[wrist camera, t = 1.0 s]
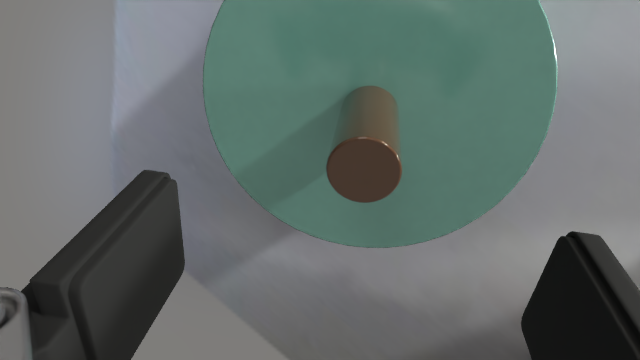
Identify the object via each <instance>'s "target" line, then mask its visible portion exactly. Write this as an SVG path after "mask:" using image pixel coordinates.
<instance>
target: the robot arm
mask: <svg viewBox="0 0 640 360" xmlns="http://www.w3.org/2000/svg"><path fill="white" fill-rule="evenodd" d="M184 265H185V259H184V249H183V239H182V229H181V219H180V209H179V200H178V190H177V183H176V181H175V180H173V179H171V177H170V175H169V174H168V173H164V172H157V171H150V170H144V171H142V172H141V173H140V174H139V175H138V176H137V177H136V178H135V179H134V180H133V181H132V182H130V183H129V184H128V185H127V186H126V187H125V188H124V189H123V190H122V191H121V192H120V193H119V194H118V195H117V196H116V197H115V198H114V199H113V200H112V201H111V202H110V203H109V204H108V205H107V206H106V207H105V208H104V209H103V210H102V211H101V212H100V213H98V214H97V215H96V216H95V217H94V219H92V220H91V221H90V222H89V223H88V224H87V225H86V226H85V227H84V228H83V229H82V230H81V231H80V232H79V233H78V234H77V235H76V236H75V237H74V238H73V239H72V240H71V241H70V242H69V243H68V244H66V245H65V246H64V248H62V249H61V250H60V251H59V252H58V253H57V254H56V255H55V256H54V257H53V258H52V259H51V260H50V261H49V262H48V263H47V264H46V265H45V266H44V267H43V268H42V269H41V270H40V271H39V272H38V273H37V274H36V275H34V276H33V277H32V278H31V279H30V283H29V284H28V285H27V286H26V287H25V288H24V289H23V290H22V291H21V292H20V291H19V290H16V289H12V288H8V287H6V288H3V287H0V360H131V358H132V357H133V355H134V353H135V352H136V350H137V348H138V346H139V345H140V343H141V342H142V340H143V338H144V337H145V335H146V333H147V332H148V330H149V328H150V327H151V325H152V323H153V322H154V320H155V319H156V317H157V315H158V313H159V312H160V310H161V309H162V307H163V305H164V304H165V302H166V300H167V299H168V297H169V295H170V293H171V292H172V290H173V289H174V287H175V285H176V283H177V282H178V280H179V279H180V277H181V275H182V273H183V270H184ZM521 326H522V332H523V335H524V337H525V340H526V343H527V346H528V349H529V352H530V355H531V358H532V360H640V291H639V290H638V288H637V287H636V285H635V284H634V282H633V281H632V280H631V278H630V277H629V275H628V274H627V273H626V271H625V270H624V268H623V267H622V266H621V264H620V263H619V261H618V260H617V259H616V257H615V256H614V254H613V253H612V251H611V250H610V249H609V247H608V246H607V244H606V243H605V242H604V240H603V239H602V238H601V237H600V236H598V235H594V234H587V233H580V232H569V233H568V234H567V235H566V237H565V236H562V237H560V238H559V239H558V241H557V243H556V245H555V247H554V249H553V251H552V253H551V255H550V258H549V260H548V262H547V264H546V266H545V268H544V270H543V273H542V275H541V277H540V279H539V281H538V283H537V286H536V288H535V290H534V292H533V294H532V296H531V298H530V301H529V303H528V305H527V307H526V309H525V311H524V313H523V316H522V321H521Z"/></svg>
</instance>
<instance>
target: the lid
mask: <svg viewBox="0 0 640 360" xmlns="http://www.w3.org/2000/svg"><path fill="white" fill-rule="evenodd" d="M556 93H557V59H556V51H555V44H554V39H553V36H552V33H551V29H550V26H549V22H548V19H547V16H546V14H545V12H544V10H543V8H542V6H541V4H540V2H539V0H224V2H223V3H222V5H221V7H220V9H219V12H218V14H217V16H216V19H215V21H214V23H213V25H212V29H211V32H210V36H209V39H208V43H207V46H206V52H205V59H204V67H203V95H204V103H205V111H206V115H207V119H208V123H209V127H210V131H211V134H212V136H213V139H214V141H215V144H216V146H217V149H218V151H219V153H220V155H221V156H222V158H223V160H224V162H225V164H226V166H227V167H228V169H229V170H230V172H231V173H232V174H233V176H234V177H235V179H236V180H237V181H238V183H239V184H240V185H241V186H242V187H243V188H244V189H245V191H246V192H247V193H248V194H249V195H250V196H251V197H252V198H253V199H254V200H255V201H256V202H257V203H259V204H260V205H261V206H262V207H263V208H264V209H265V210H267V211H268V212H270V213H271V214H272V215H274V216H275V217H277V218H278V219H279V220H281V221H283V222H285V223H286V224H288V225H290V226H292V227H293V228H295V229H297V230H299V231H302V232H304V233H306V234H309V235H311V236H313V237H317V238H320V239H323V240H326V241H329V242H333V243H338V244H343V245H348V246H356V247H366V248H388V247H398V246H407V245H412V244H416V243H421V242H425V241H429V240H432V239H435V238H438V237H441V236H444V235H446V234H448V233H451V232H453V231H455V230H457V229H460V228H462V227H464V226H465V225H467V224H469V223H471V222H472V221H474V220H476V219H477V218H479V217H480V216H482V215H483V214H485V213H486V212H487V211H489V210H490V209H491V208H493V207H494V206H495V205H496V204H498V203H499V202H500V201H501V200H502V199H503V198H504V197H505V196H506V195H507V194H508V193H509V192H510V191H511V190H512V189H513V188H514V187H515V185H516V184H517V183H518V182H519V181H520V179H521V178H522V177H523V176H524V175H525V173H526V172H527V170H528V169H529V167H530V165H531V164H532V162H533V161H534V159H535V158H536V156H537V154H538V152H539V150H540V148H541V146H542V143H543V141H544V139H545V137H546V135H547V131H548V128H549V125H550V122H551V119H552V116H553V111H554V105H555V99H556Z"/></svg>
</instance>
